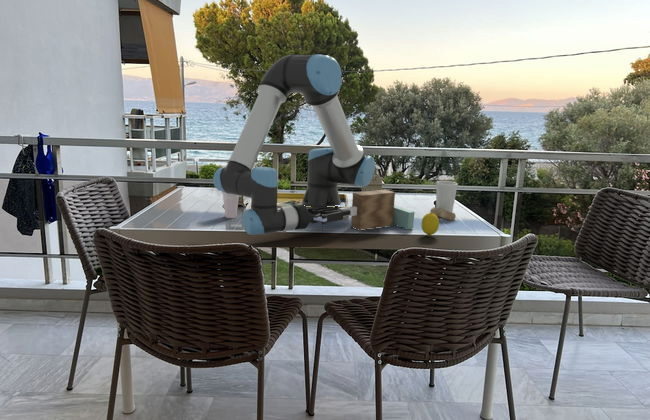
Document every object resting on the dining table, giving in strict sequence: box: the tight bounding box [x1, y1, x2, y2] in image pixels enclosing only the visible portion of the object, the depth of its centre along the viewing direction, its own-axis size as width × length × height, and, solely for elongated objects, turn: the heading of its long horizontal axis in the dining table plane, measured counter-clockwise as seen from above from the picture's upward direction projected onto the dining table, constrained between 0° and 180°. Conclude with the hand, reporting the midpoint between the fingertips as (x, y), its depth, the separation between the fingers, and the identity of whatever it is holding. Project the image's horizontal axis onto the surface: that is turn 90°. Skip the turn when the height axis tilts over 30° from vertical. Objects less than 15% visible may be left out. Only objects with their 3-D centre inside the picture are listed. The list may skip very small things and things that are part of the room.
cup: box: [435, 180, 458, 213], centre depth 192 cm, size 8×8×12 cm
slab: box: [350, 189, 396, 230], centre depth 168 cm, size 14×5×12 cm, turn 123°
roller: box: [429, 206, 456, 221], centre depth 187 cm, size 10×3×3 cm
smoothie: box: [220, 191, 240, 219], centre depth 172 cm, size 6×6×14 cm
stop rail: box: [393, 204, 415, 230], centre depth 174 cm, size 2×16×6 cm, turn 32°
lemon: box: [420, 212, 440, 237], centre depth 160 cm, size 6×6×8 cm
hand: (355, 210), depth 164 cm, fingers closed
